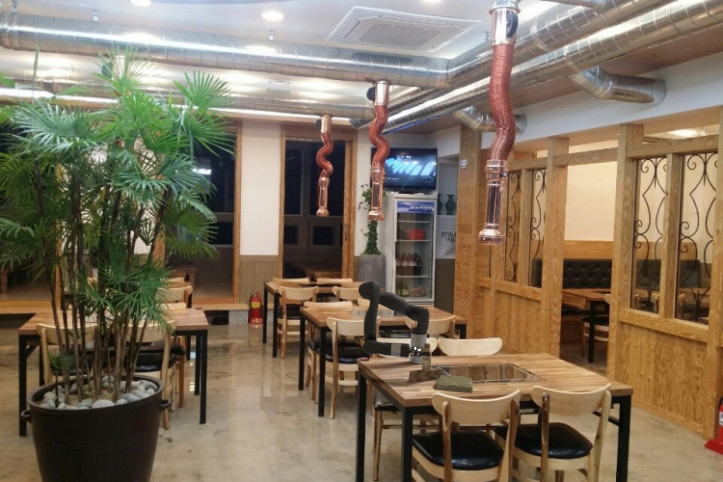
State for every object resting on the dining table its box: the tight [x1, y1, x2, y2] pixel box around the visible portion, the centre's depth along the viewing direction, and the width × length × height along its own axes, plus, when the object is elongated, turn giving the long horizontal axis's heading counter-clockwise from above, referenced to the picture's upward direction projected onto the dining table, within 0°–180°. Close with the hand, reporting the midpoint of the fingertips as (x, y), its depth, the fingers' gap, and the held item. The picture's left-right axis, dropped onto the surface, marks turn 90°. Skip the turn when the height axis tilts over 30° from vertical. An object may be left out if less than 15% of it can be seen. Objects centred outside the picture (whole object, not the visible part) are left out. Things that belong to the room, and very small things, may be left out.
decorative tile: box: [435, 374, 474, 393], centre depth 324 cm, size 19×20×4 cm
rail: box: [408, 367, 444, 383], centre depth 334 cm, size 20×4×5 cm, turn 125°
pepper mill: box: [421, 342, 433, 371], centre depth 334 cm, size 5×5×14 cm
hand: (430, 352), depth 333 cm, fingers open, 8 cm apart
